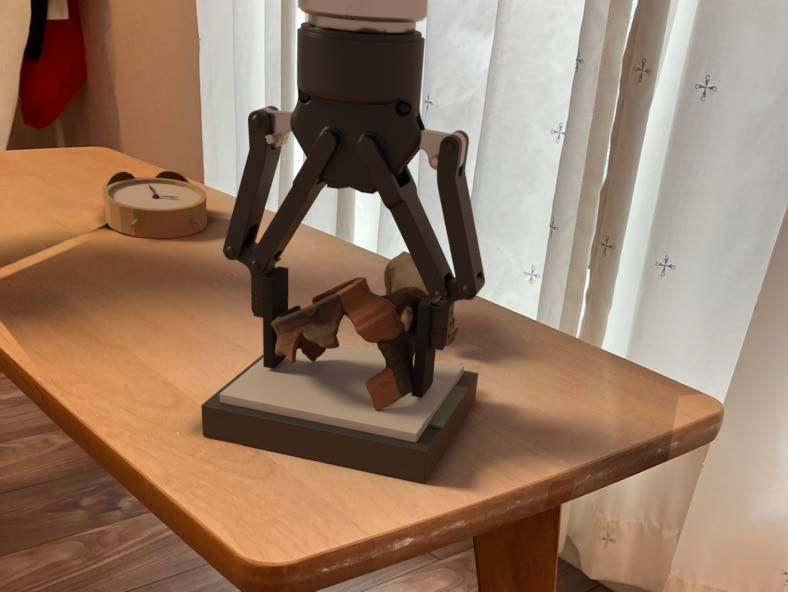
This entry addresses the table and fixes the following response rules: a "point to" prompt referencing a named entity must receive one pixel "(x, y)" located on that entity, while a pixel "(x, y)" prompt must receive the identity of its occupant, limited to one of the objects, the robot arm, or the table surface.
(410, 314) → the rhino figurine
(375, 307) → the brown jagged curved piece
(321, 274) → the table surface
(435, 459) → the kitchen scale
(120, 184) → the alarm clock
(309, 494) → the table surface
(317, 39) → the robot arm
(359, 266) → the table surface
